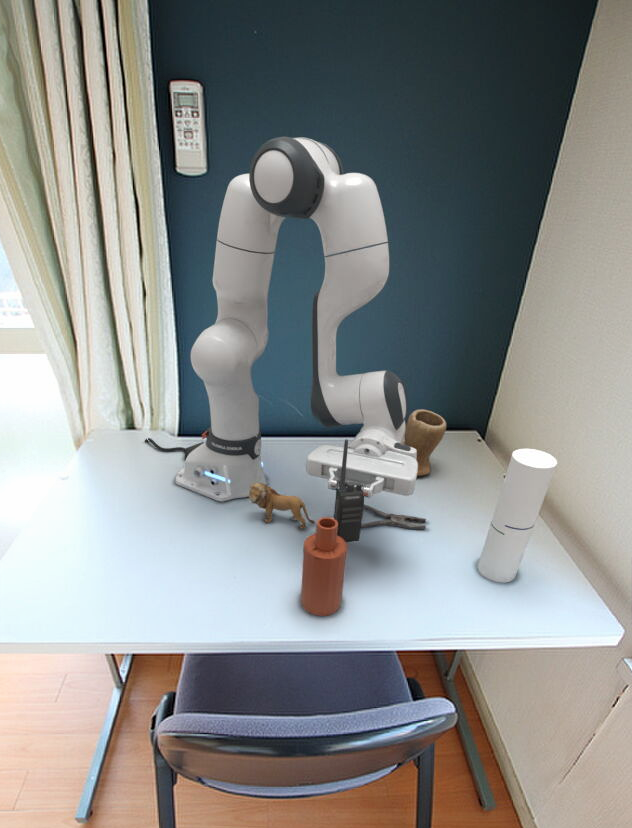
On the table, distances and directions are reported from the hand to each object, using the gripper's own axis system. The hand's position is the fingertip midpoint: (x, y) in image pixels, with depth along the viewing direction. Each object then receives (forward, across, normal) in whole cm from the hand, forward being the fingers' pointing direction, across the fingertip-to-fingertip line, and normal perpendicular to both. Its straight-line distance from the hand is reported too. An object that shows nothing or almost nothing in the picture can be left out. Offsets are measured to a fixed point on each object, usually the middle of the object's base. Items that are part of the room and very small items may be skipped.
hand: (349, 489), depth 88 cm
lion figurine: (-12, -18, +20) cm, 30 cm away
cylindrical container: (-14, +28, +20) cm, 37 cm away
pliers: (-23, +2, +20) cm, 31 cm away
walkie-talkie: (-1, 0, +11) cm, 11 cm away
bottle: (+8, -1, +20) cm, 21 cm away
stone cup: (-51, +4, +20) cm, 55 cm away
